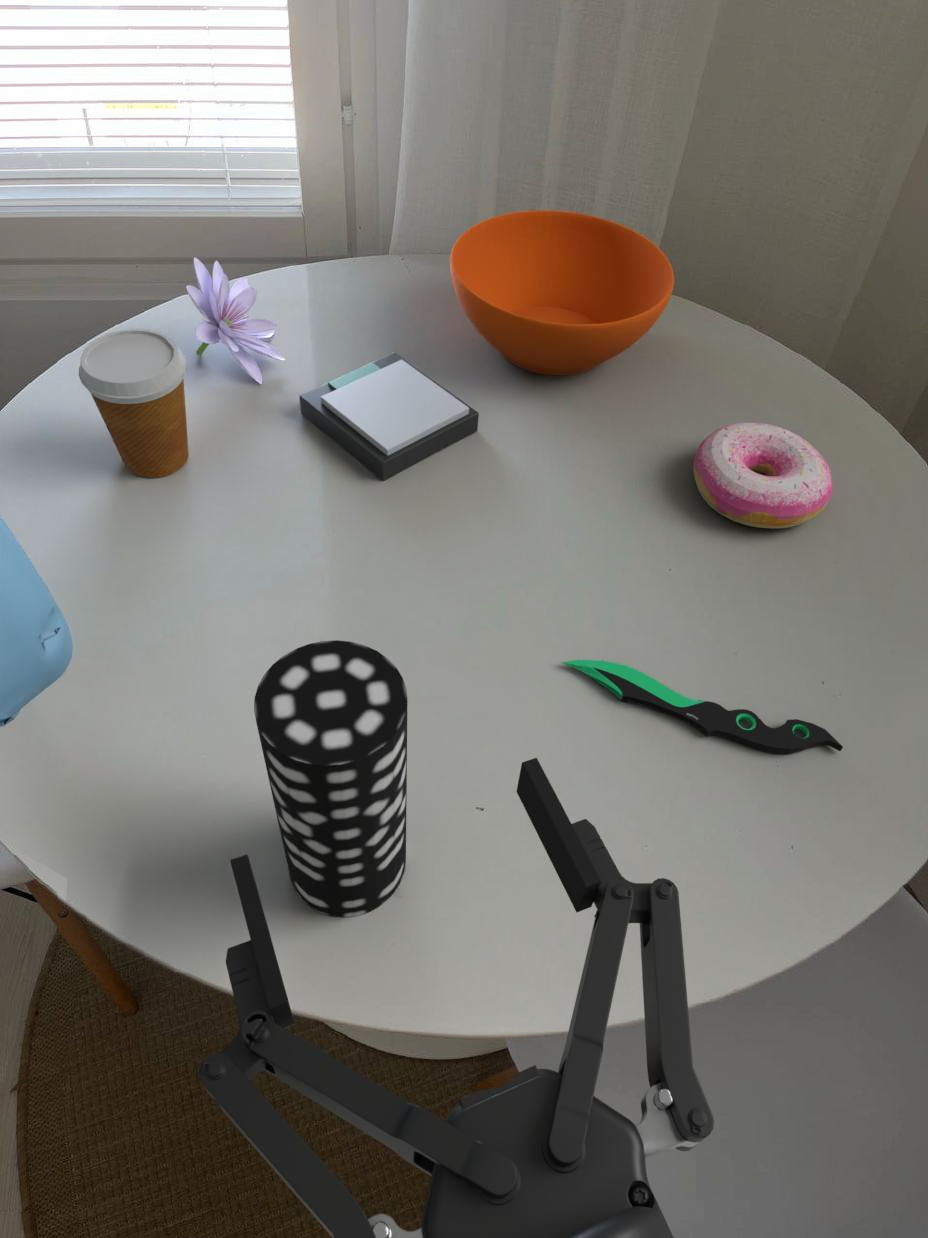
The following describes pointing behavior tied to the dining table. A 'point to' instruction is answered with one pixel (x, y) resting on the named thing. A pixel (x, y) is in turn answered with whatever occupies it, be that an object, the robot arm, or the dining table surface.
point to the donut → (757, 500)
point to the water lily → (230, 317)
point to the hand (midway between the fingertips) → (390, 819)
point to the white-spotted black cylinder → (337, 772)
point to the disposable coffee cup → (140, 398)
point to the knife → (704, 711)
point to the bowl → (559, 287)
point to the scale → (389, 415)
